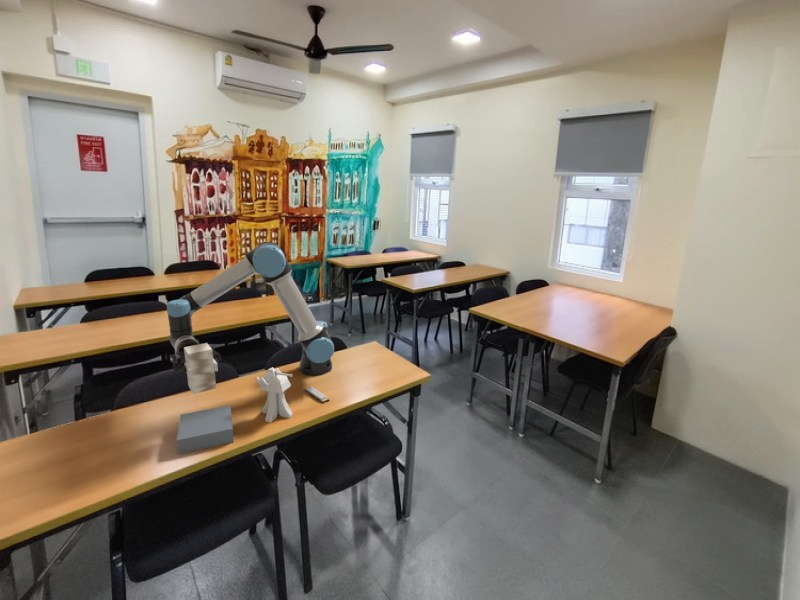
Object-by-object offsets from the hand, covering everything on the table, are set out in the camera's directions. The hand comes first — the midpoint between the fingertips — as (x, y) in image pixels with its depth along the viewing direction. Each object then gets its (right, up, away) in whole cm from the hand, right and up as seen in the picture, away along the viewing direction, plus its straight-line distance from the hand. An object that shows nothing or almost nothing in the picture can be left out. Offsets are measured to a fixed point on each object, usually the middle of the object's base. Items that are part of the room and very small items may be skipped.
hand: (203, 370), depth 125 cm
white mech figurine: (+18, -20, +21) cm, 34 cm away
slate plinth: (-2, -23, +7) cm, 24 cm away
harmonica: (+29, -17, +35) cm, 48 cm away
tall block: (-3, -7, +6) cm, 10 cm away
